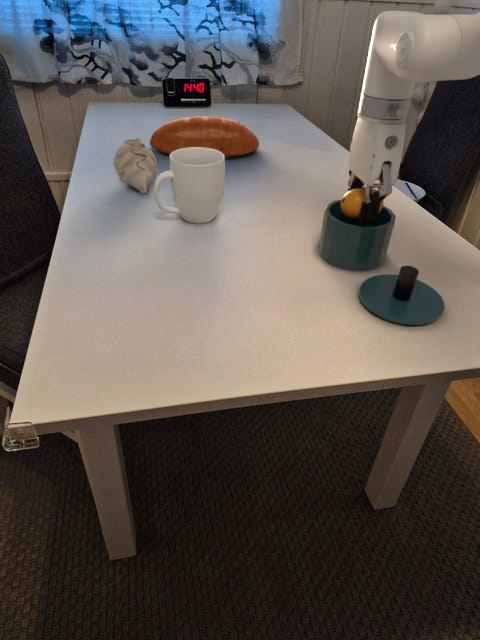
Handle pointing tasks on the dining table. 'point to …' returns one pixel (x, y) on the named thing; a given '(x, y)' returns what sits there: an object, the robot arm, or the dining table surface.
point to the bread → (205, 135)
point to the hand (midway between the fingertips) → (359, 214)
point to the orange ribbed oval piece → (354, 202)
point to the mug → (194, 183)
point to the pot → (355, 239)
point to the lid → (402, 298)
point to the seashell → (135, 164)
